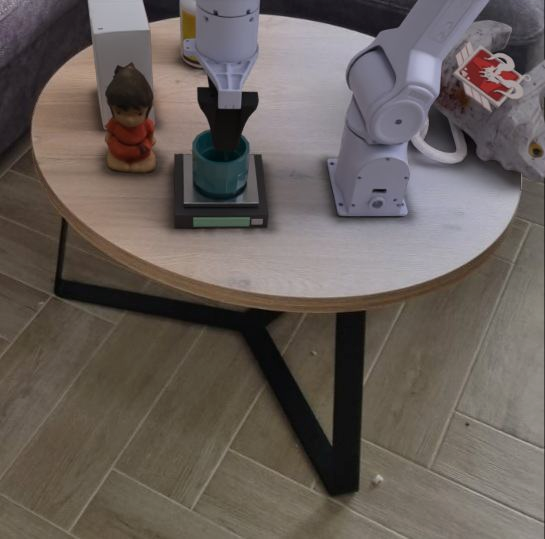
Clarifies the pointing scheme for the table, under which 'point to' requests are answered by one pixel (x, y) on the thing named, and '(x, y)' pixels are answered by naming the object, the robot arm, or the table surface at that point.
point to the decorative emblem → (487, 76)
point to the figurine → (130, 122)
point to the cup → (219, 165)
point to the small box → (119, 44)
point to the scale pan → (202, 198)
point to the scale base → (219, 215)
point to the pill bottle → (188, 27)
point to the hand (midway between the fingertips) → (223, 125)
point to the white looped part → (436, 154)
